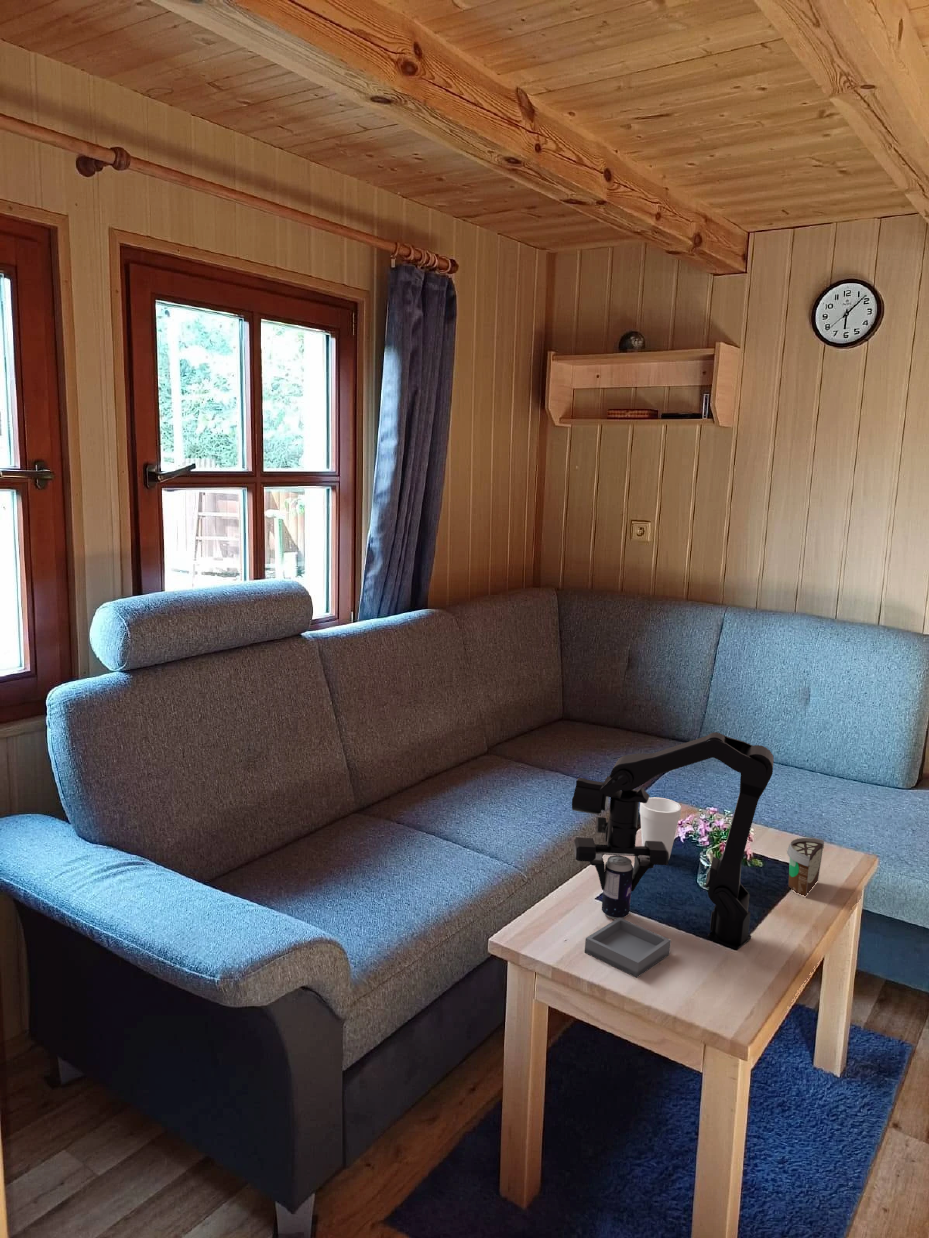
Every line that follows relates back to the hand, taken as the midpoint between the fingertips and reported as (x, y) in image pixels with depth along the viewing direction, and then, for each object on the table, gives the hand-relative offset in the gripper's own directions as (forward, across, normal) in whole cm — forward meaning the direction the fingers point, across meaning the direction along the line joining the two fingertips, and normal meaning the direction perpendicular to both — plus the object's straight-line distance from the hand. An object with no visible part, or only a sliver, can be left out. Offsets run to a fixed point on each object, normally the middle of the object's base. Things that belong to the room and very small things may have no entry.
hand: (617, 889), depth 190 cm
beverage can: (+6, 0, 0) cm, 6 cm away
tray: (+6, 0, +15) cm, 16 cm away
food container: (+6, -44, -17) cm, 47 cm away
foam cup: (+6, -14, -29) cm, 33 cm away
